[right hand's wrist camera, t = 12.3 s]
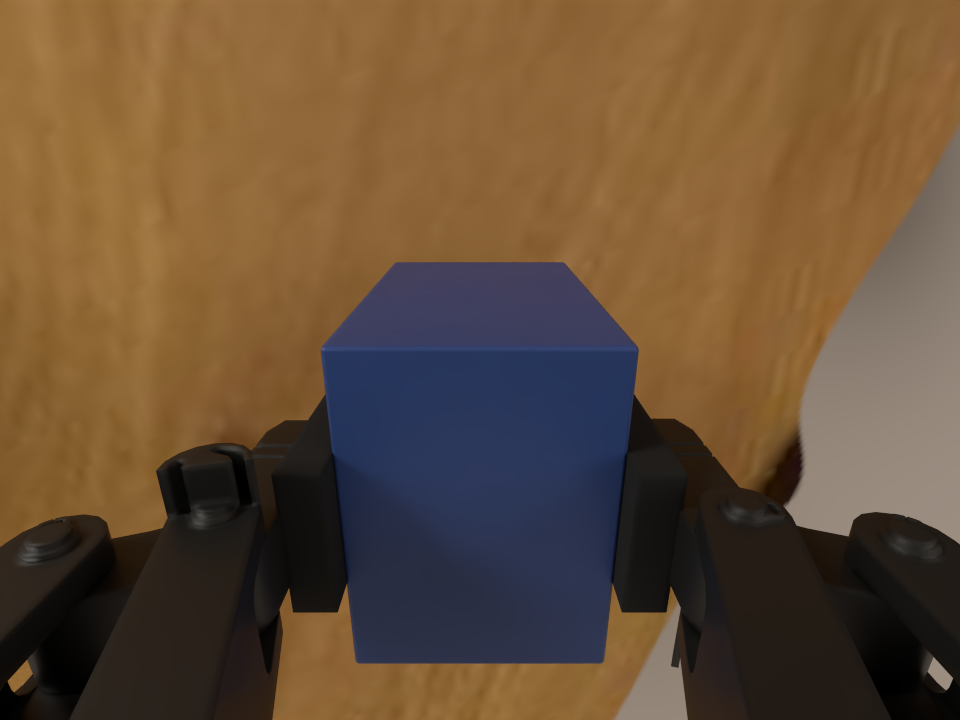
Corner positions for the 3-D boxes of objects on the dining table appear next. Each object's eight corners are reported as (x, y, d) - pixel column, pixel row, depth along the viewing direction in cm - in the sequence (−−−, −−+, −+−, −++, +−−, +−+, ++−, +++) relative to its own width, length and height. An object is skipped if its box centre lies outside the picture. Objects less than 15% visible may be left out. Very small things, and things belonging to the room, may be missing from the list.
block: (565, 261, 15) (641, 347, 8) (553, 462, 17) (604, 665, 10) (394, 261, 15) (318, 346, 8) (405, 461, 17) (354, 665, 10)
